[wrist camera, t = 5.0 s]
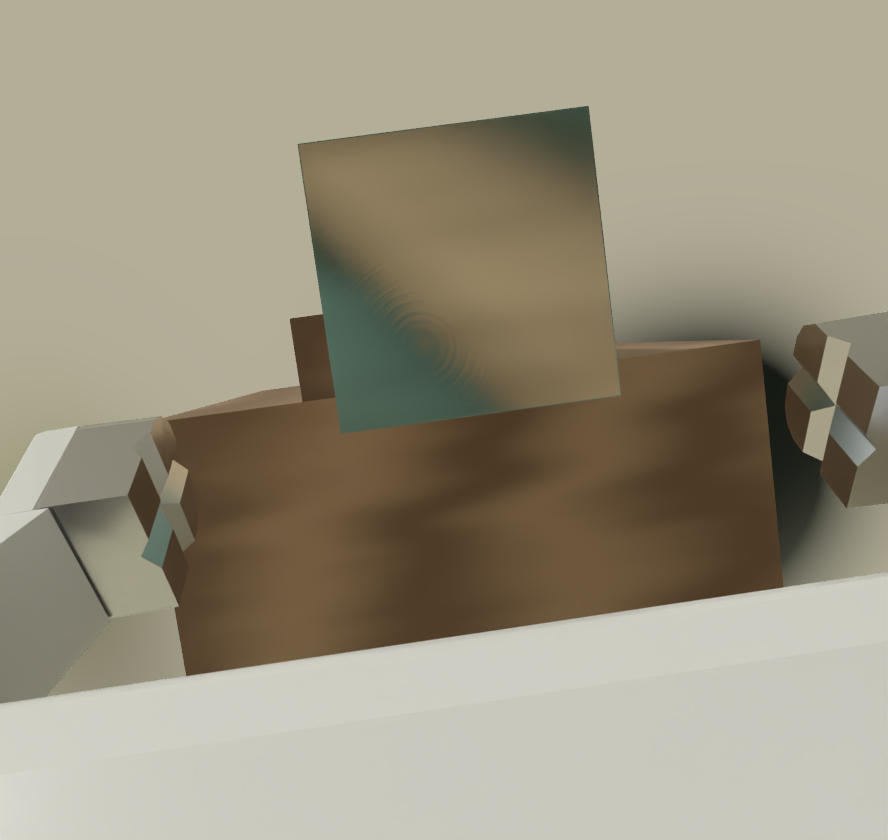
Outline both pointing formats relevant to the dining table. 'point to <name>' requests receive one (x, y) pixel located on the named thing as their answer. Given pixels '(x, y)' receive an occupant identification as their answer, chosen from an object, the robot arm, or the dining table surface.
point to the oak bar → (461, 269)
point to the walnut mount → (472, 509)
